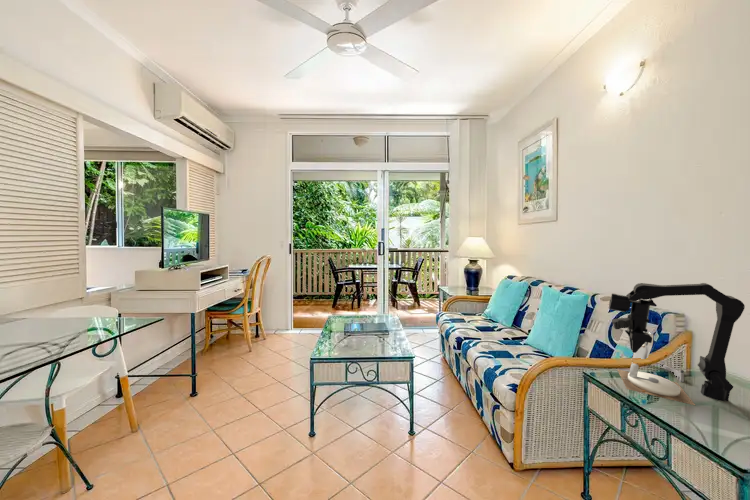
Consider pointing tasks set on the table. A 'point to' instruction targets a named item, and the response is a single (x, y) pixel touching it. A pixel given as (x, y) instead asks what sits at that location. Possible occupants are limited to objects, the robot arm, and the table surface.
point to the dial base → (681, 398)
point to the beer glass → (644, 349)
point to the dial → (652, 382)
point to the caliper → (676, 373)
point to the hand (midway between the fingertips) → (633, 351)
